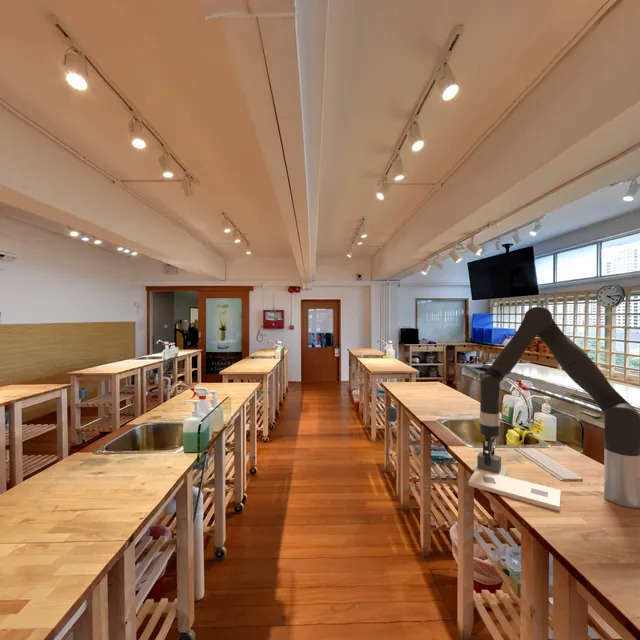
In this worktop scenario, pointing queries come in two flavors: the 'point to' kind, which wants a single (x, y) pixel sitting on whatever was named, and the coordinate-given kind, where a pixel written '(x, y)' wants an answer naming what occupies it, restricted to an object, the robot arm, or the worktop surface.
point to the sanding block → (495, 463)
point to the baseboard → (548, 464)
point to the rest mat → (502, 472)
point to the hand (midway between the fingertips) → (489, 461)
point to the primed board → (516, 489)
